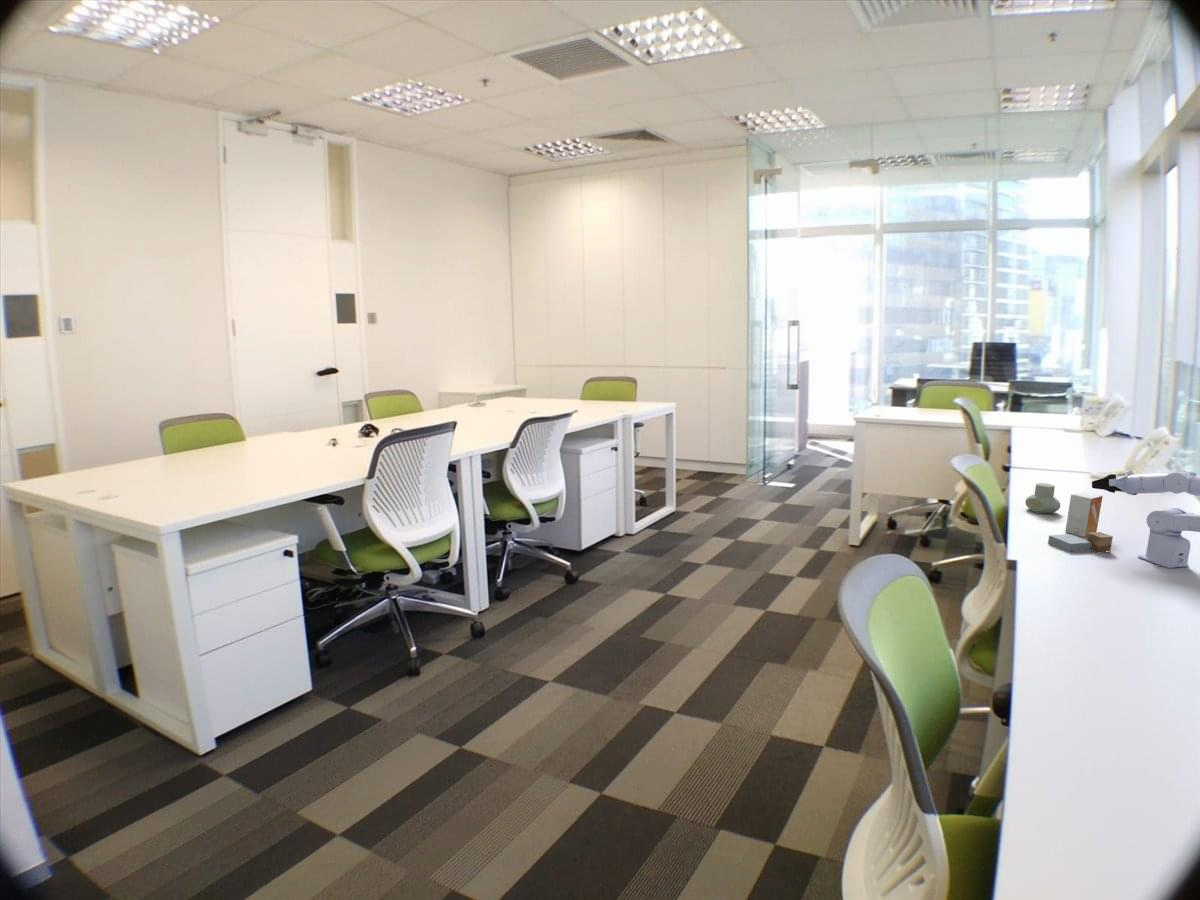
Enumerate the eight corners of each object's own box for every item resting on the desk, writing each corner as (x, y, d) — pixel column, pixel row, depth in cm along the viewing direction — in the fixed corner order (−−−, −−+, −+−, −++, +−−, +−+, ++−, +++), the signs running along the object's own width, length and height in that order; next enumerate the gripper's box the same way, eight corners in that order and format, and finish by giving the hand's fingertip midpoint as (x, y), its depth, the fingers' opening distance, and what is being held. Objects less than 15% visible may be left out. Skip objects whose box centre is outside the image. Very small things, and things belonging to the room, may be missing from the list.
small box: (1085, 537, 235) (1091, 498, 233) (1064, 532, 241) (1070, 494, 238) (1097, 533, 240) (1103, 495, 237) (1076, 528, 245) (1082, 491, 242)
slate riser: (1090, 551, 223) (1092, 542, 223) (1069, 553, 221) (1070, 543, 221) (1068, 543, 231) (1070, 534, 230) (1047, 544, 229) (1049, 535, 228)
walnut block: (1110, 552, 222) (1112, 536, 221) (1098, 553, 221) (1100, 537, 220) (1097, 547, 226) (1099, 531, 225) (1085, 548, 225) (1087, 532, 224)
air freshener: (1063, 514, 261) (1067, 487, 259) (1047, 516, 258) (1051, 489, 256) (1035, 506, 271) (1039, 480, 269) (1020, 508, 268) (1023, 482, 266)
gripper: (1162, 472, 220) (1115, 475, 232) (1130, 468, 214) (1084, 471, 227) (1162, 495, 219) (1116, 497, 231) (1131, 492, 214) (1085, 493, 226)
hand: (1100, 485), depth 229 cm, fingers open, 7 cm apart
